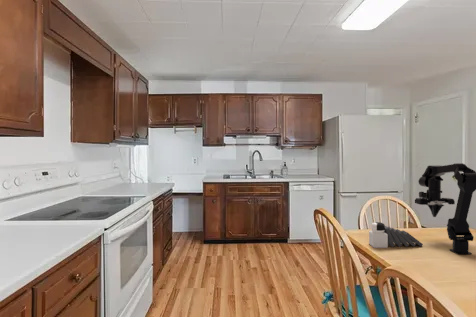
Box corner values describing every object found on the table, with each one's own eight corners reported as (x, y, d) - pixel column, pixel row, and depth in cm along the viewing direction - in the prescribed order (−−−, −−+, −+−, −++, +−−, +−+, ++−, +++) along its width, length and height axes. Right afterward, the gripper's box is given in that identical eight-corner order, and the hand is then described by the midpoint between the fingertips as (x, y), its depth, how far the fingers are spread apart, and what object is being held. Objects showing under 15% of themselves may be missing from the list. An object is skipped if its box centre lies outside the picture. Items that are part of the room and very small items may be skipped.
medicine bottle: (382, 243, 167) (382, 221, 166) (387, 248, 160) (387, 224, 159) (368, 243, 167) (368, 221, 167) (373, 247, 160) (373, 224, 160)
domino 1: (394, 246, 161) (389, 227, 161) (391, 247, 161) (386, 228, 161) (390, 243, 166) (384, 225, 166) (387, 244, 166) (381, 226, 166)
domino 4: (415, 244, 161) (401, 231, 161) (413, 246, 161) (399, 233, 161) (410, 241, 166) (397, 228, 166) (408, 243, 166) (394, 231, 166)
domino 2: (402, 245, 161) (392, 228, 161) (399, 247, 161) (389, 230, 161) (397, 242, 166) (387, 226, 166) (394, 244, 166) (385, 227, 166)
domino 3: (409, 245, 161) (396, 230, 161) (406, 247, 161) (394, 232, 161) (403, 242, 166) (392, 227, 166) (401, 244, 166) (389, 229, 166)
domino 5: (423, 244, 161) (407, 232, 161) (421, 246, 161) (405, 235, 161) (417, 241, 166) (402, 230, 166) (415, 243, 166) (400, 232, 166)
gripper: (441, 186, 179) (441, 213, 180) (409, 186, 179) (409, 214, 179) (455, 188, 168) (455, 218, 168) (420, 189, 168) (420, 218, 168)
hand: (434, 216), depth 171 cm, fingers closed
